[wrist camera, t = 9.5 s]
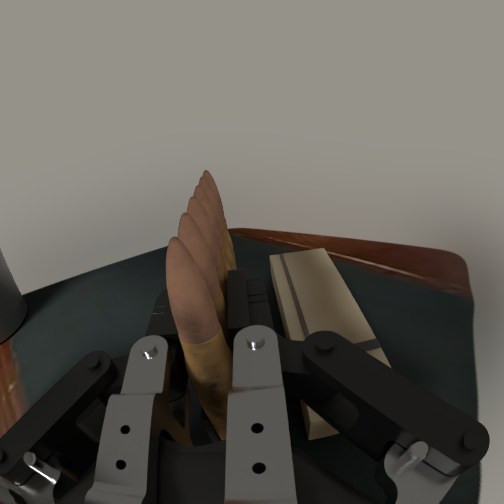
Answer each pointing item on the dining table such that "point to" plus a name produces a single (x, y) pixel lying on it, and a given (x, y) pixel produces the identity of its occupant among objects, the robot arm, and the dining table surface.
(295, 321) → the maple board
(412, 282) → the dining table surface
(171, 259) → the ammunition clip
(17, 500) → the candy bar box
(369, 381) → the robot arm
